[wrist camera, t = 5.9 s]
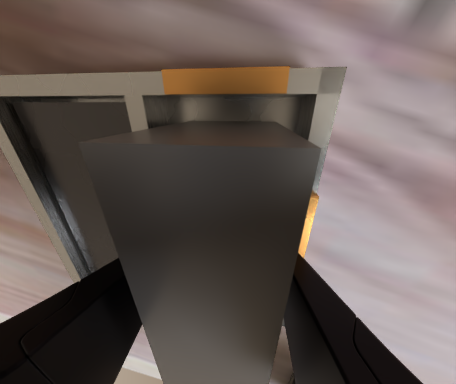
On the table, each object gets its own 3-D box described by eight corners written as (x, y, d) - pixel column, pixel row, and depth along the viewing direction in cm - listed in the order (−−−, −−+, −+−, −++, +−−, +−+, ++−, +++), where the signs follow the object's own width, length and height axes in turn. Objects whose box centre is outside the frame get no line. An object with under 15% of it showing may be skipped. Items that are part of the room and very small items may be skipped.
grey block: (258, 276, 12) (263, 408, 7) (202, 270, 13) (165, 388, 7) (275, 121, 8) (321, 148, 3) (189, 120, 8) (78, 142, 3)
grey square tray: (279, 290, 13) (285, 331, 11) (106, 270, 15) (78, 302, 12) (319, 79, 7) (351, 64, 5) (30, 83, 9) (-50, 74, 7)
